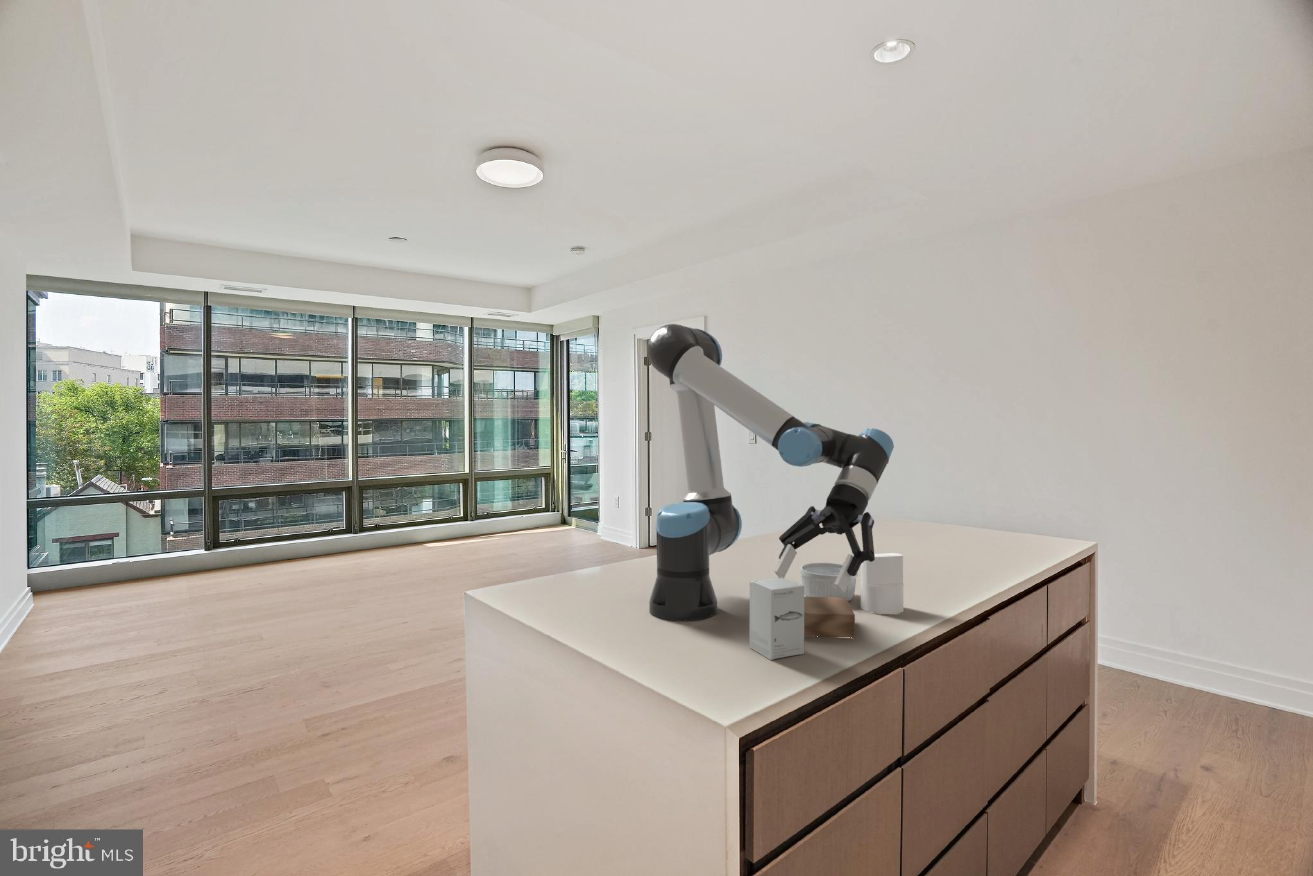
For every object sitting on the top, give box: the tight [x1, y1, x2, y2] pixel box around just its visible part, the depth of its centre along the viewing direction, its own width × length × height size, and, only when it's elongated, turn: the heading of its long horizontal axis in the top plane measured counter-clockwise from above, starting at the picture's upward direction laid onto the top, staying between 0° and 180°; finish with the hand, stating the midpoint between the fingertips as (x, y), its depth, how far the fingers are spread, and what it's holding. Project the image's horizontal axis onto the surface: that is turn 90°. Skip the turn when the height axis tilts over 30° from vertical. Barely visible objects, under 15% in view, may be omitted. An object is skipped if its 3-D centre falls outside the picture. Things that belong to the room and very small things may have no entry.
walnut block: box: [804, 596, 856, 639], centre depth 131 cm, size 12×12×5 cm
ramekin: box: [799, 561, 859, 603], centre depth 153 cm, size 13×13×7 cm
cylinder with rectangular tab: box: [860, 552, 904, 615], centre depth 143 cm, size 9×9×12 cm
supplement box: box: [749, 577, 805, 661], centre depth 117 cm, size 7×7×13 cm
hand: (807, 581), depth 121 cm, fingers open, 13 cm apart
